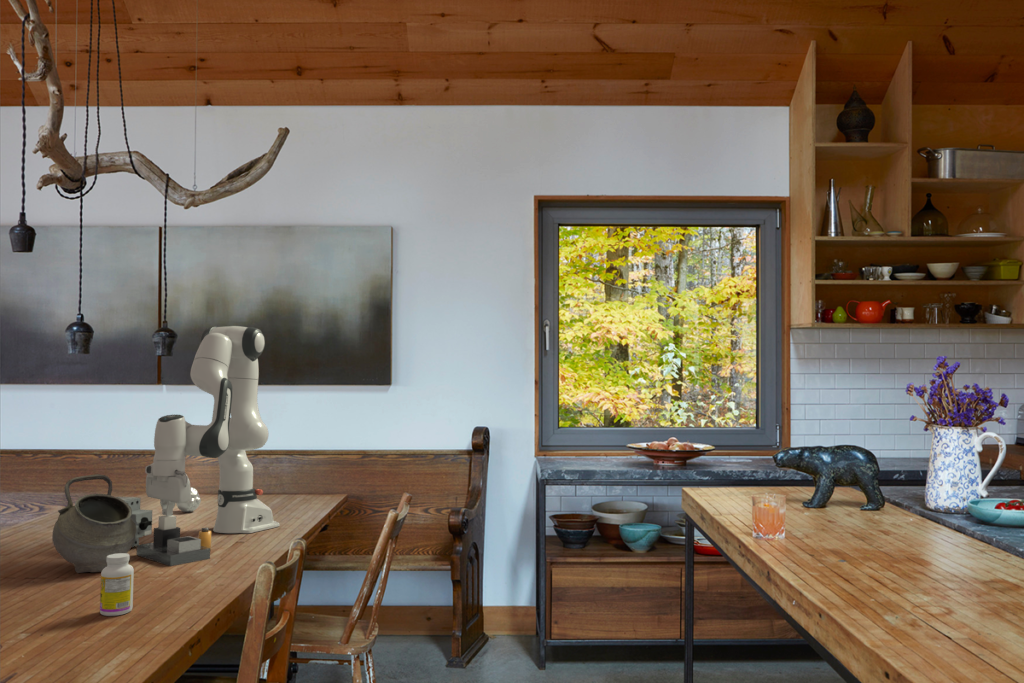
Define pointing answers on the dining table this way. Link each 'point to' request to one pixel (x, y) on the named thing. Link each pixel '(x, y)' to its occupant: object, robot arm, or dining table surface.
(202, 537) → the orange rounded cylinder
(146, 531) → the circuit breaker
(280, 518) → the dining table surface
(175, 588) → the dining table surface
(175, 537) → the grey socket board
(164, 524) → the button
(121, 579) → the supplement bottle
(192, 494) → the silver crumpled lump
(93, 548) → the pot
